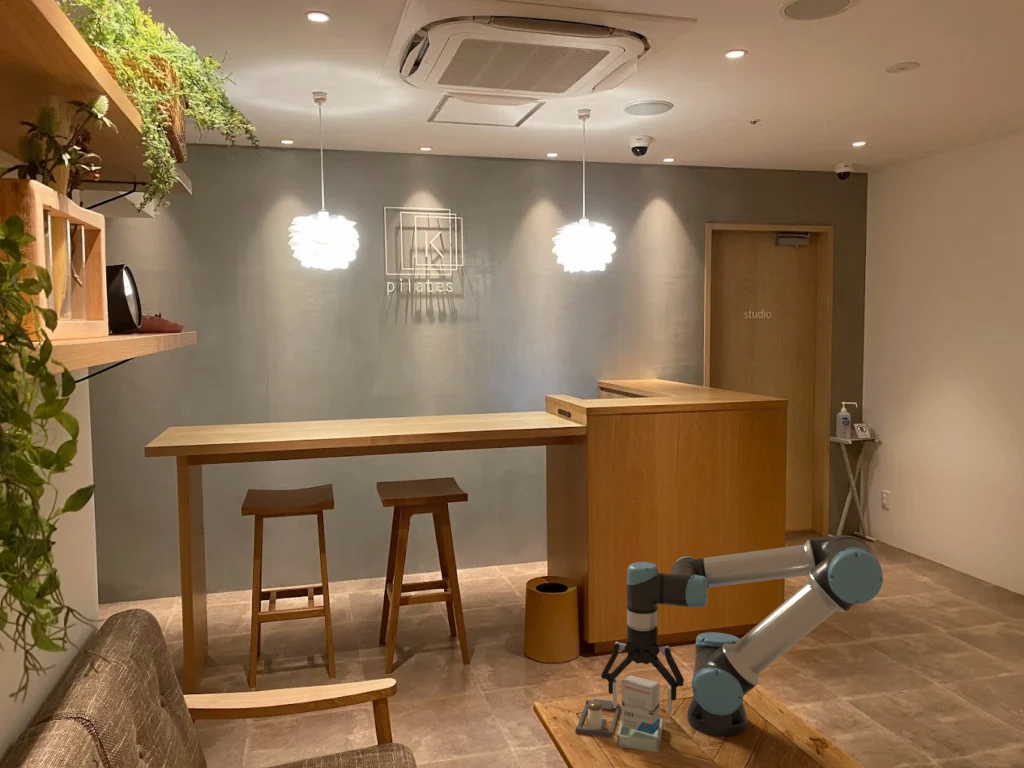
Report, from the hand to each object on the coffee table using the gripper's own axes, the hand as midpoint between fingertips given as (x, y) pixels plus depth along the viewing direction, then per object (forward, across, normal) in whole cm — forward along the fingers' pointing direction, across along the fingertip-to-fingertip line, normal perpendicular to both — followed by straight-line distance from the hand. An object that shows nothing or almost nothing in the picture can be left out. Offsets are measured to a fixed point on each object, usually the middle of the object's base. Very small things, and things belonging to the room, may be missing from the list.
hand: (642, 708), depth 206 cm
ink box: (+5, 0, 0) cm, 5 cm away
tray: (+7, 0, 0) cm, 8 cm away
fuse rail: (+7, +12, -6) cm, 15 cm away
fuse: (+7, +12, 0) cm, 14 cm away
